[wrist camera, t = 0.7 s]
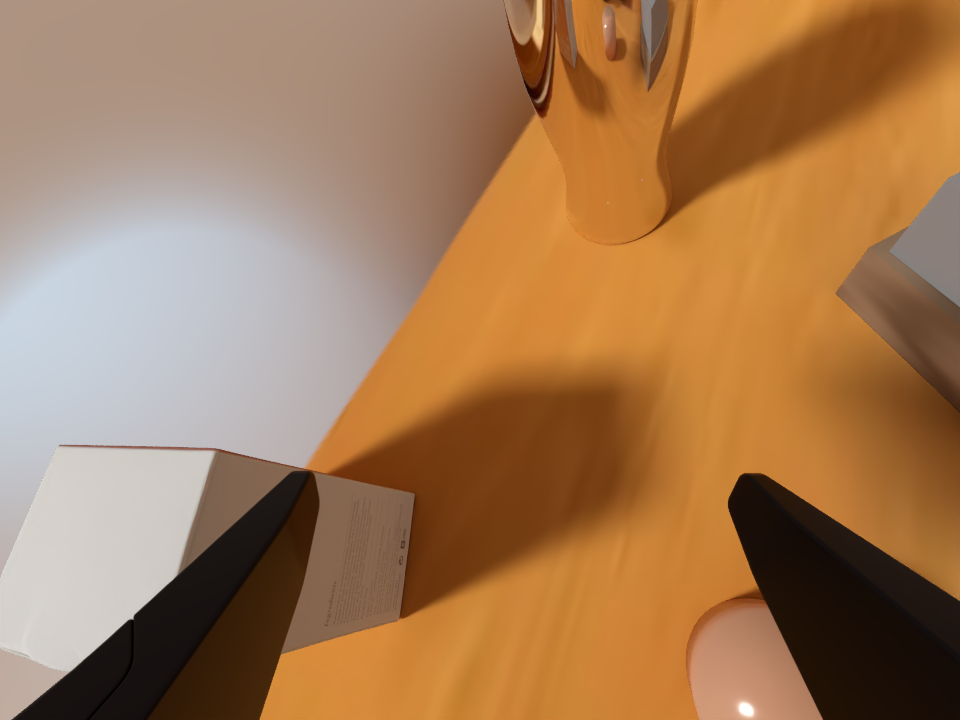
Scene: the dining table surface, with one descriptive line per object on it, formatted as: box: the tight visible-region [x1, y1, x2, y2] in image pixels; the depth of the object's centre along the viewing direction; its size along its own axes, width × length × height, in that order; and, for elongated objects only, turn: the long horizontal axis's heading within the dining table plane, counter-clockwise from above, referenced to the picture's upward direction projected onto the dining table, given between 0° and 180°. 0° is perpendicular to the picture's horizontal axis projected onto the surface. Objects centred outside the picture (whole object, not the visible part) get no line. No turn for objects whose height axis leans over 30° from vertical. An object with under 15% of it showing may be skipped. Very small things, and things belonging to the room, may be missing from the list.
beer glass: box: [503, 0, 698, 244], centre depth 20 cm, size 7×7×15 cm
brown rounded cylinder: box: [686, 598, 823, 720], centre depth 15 cm, size 6×6×4 cm
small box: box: [0, 445, 415, 673], centre depth 19 cm, size 8×6×13 cm
